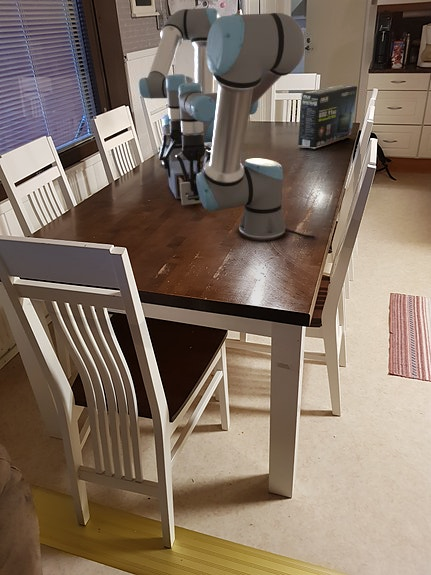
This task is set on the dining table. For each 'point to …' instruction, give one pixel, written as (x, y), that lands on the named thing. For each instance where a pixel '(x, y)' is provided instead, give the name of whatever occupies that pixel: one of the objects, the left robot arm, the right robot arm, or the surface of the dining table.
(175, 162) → the cabinet
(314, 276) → the dining table surface
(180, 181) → the drawer
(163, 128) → the left robot arm
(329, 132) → the router box
